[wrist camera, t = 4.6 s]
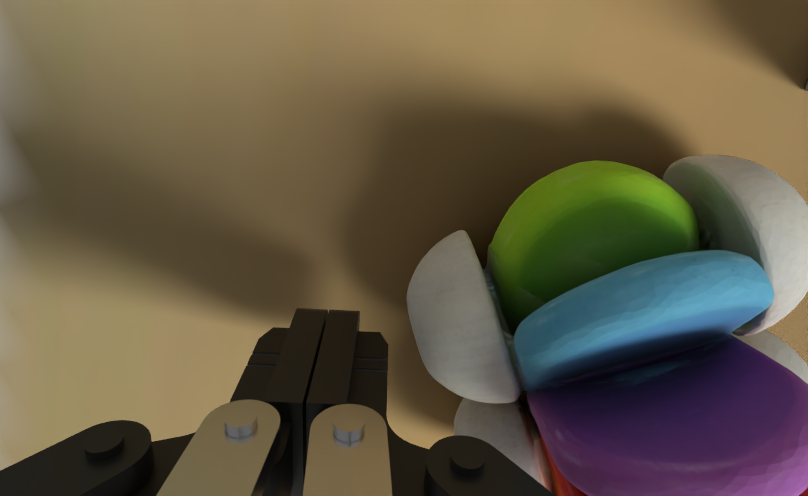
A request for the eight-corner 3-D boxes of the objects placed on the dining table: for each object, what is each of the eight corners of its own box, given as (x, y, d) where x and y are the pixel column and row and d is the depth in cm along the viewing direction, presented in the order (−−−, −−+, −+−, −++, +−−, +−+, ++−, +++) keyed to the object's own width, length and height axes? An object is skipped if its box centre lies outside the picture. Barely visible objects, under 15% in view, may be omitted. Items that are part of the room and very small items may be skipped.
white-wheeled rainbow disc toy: (476, 479, 16) (532, 782, 10) (381, 196, 13) (364, 360, 6) (750, 412, 16) (1020, 693, 9) (725, 91, 12) (1130, 149, 5)
